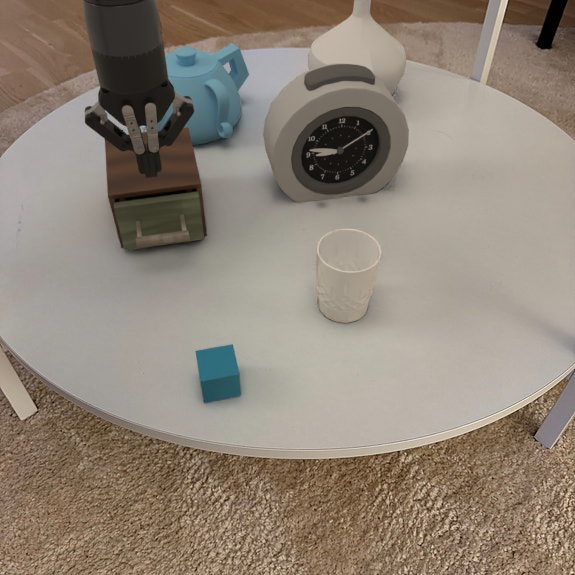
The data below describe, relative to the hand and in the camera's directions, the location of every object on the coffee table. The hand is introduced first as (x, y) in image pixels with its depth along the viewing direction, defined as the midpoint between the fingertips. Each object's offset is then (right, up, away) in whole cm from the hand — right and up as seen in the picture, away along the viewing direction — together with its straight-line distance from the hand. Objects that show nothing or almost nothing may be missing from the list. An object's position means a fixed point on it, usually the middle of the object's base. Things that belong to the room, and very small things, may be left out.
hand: (151, 173), depth 76 cm
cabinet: (-3, -2, +18) cm, 18 cm away
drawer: (-2, -5, +14) cm, 15 cm away
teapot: (-1, +16, +36) cm, 39 cm away
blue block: (+9, -26, -4) cm, 28 cm away
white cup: (+25, -17, +5) cm, 30 cm away
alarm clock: (+24, +3, +23) cm, 34 cm away
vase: (+30, +23, +43) cm, 57 cm away
